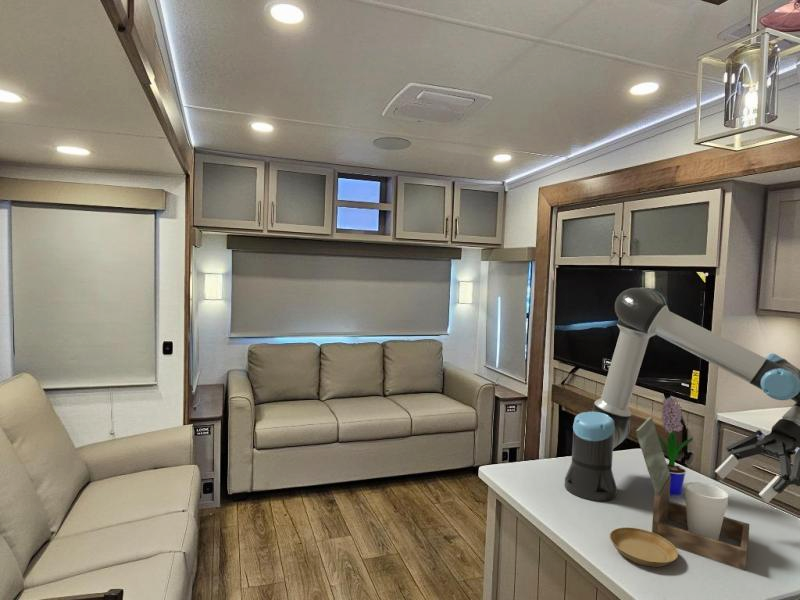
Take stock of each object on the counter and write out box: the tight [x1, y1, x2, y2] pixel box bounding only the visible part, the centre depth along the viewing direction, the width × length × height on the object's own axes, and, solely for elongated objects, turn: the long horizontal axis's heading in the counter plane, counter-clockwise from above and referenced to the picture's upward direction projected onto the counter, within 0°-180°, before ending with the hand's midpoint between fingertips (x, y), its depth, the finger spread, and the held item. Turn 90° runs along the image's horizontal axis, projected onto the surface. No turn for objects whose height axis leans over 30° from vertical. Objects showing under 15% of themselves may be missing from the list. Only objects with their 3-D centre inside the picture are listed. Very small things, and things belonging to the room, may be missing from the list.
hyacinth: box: [658, 396, 694, 496], centre depth 150 cm, size 9×10×30 cm
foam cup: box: [683, 481, 729, 541], centre depth 122 cm, size 10×9×13 cm
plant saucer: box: [609, 526, 679, 568], centre depth 115 cm, size 15×15×3 cm
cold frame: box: [635, 416, 750, 571], centre depth 122 cm, size 25×16×27 cm, turn 52°
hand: (739, 486), depth 122 cm, fingers open, 13 cm apart
